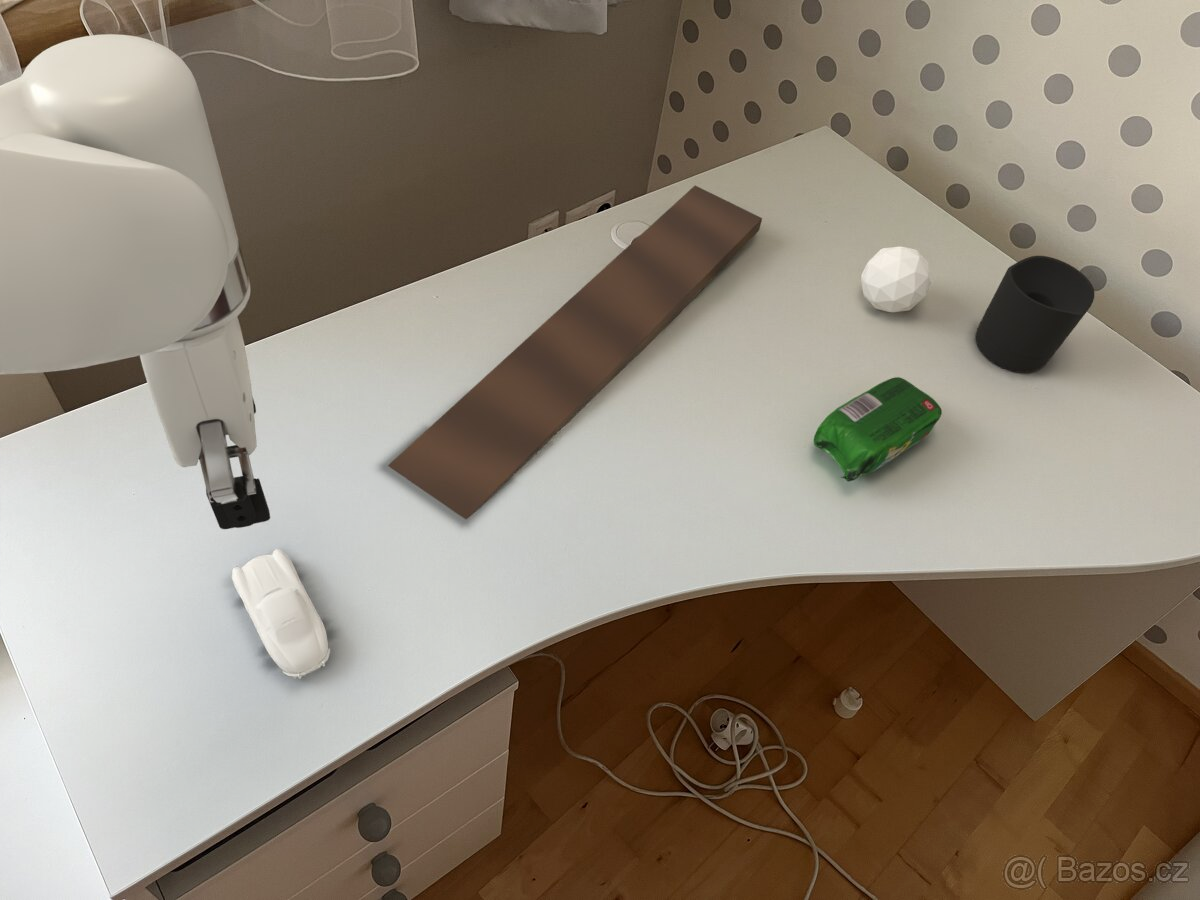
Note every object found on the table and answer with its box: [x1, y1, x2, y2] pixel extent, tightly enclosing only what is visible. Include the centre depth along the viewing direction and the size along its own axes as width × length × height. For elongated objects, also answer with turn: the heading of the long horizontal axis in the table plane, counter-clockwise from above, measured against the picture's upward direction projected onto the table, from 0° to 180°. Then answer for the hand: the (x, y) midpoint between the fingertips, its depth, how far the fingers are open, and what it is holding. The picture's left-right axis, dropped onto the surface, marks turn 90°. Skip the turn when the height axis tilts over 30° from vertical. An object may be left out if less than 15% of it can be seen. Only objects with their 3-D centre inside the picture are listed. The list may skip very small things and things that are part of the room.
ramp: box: [387, 185, 763, 520], centre depth 99 cm, size 56×10×5 cm, turn 144°
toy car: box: [231, 548, 331, 680], centre depth 74 cm, size 5×12×4 cm, turn 34°
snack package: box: [813, 376, 943, 482], centre depth 92 cm, size 7×16×5 cm, turn 127°
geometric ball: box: [860, 245, 932, 313], centre depth 106 cm, size 8×8×8 cm
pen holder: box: [975, 255, 1096, 373], centre depth 102 cm, size 9×9×10 cm
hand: (239, 466), depth 63 cm, fingers open, 9 cm apart
